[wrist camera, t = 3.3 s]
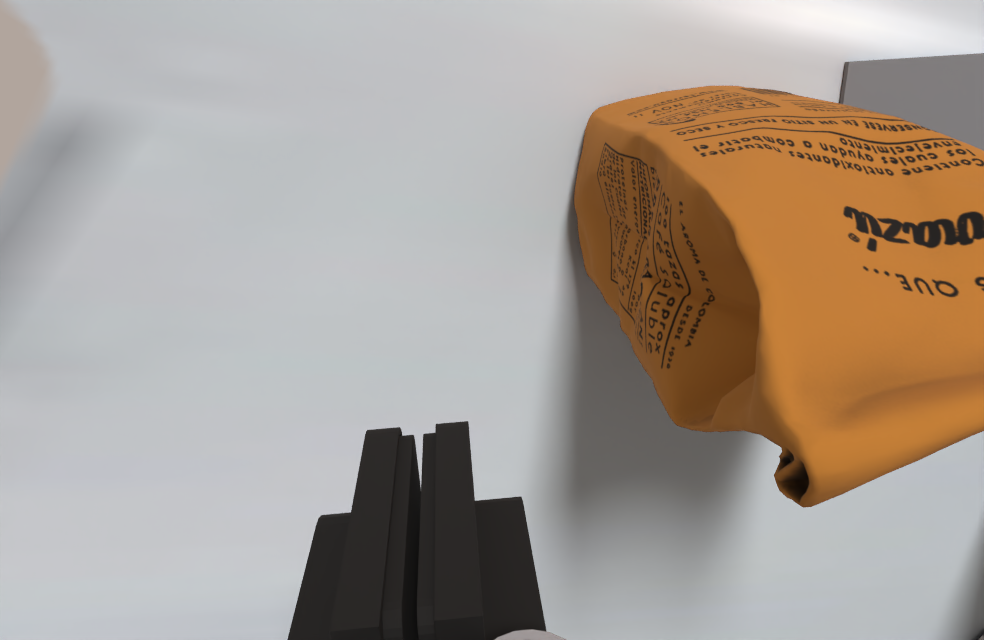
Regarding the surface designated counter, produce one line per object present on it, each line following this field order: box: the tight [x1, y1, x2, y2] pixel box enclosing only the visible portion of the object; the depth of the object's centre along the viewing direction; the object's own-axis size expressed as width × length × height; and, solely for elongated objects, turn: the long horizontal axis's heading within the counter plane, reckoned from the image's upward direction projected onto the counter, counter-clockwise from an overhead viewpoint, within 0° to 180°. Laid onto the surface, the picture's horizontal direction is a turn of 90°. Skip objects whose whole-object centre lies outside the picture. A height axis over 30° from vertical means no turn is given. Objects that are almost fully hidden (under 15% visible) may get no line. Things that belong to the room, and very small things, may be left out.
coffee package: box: [574, 86, 984, 507], centre depth 22 cm, size 10×12×22 cm
